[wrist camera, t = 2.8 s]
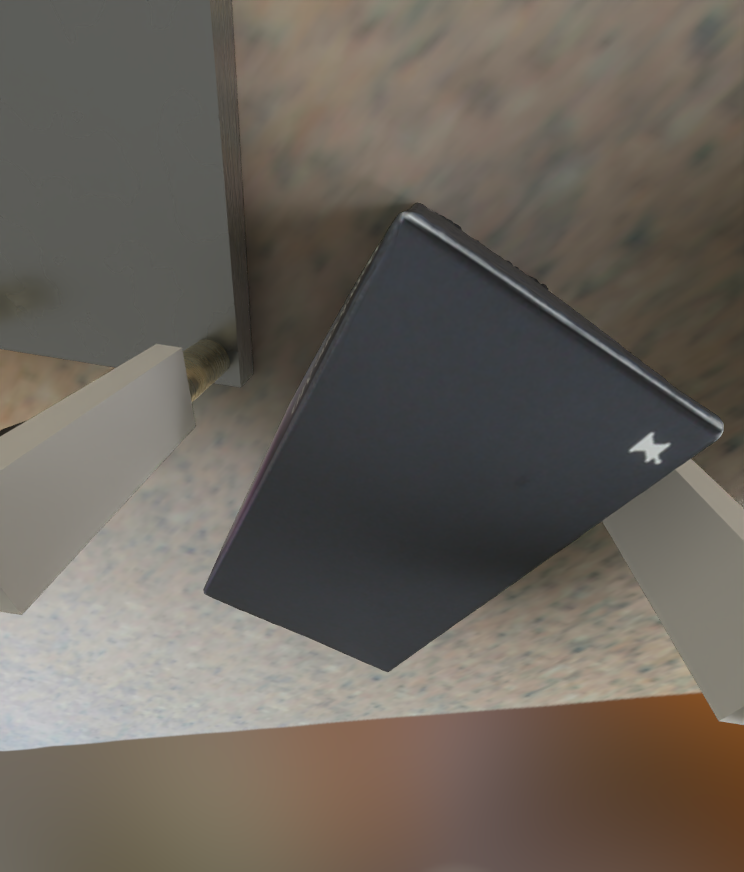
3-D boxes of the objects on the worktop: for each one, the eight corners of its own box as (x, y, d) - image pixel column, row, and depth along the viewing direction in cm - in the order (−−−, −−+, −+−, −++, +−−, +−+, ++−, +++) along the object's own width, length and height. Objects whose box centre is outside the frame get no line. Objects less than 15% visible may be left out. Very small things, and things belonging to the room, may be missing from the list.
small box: (407, 189, 13) (392, 168, 4) (549, 287, 14) (765, 430, 5) (294, 410, 18) (185, 602, 10) (404, 466, 20) (396, 682, 11)
